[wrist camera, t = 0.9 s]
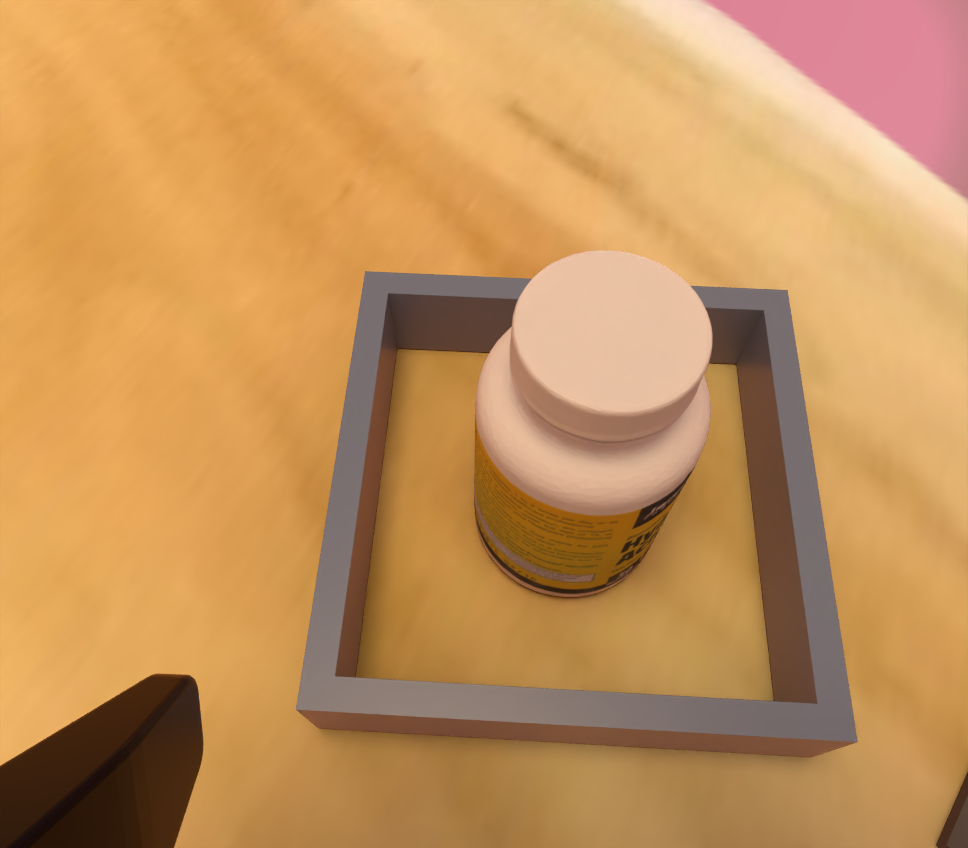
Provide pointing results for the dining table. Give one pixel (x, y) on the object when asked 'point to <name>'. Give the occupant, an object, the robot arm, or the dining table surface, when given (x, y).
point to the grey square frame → (576, 713)
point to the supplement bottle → (589, 420)
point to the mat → (957, 822)
